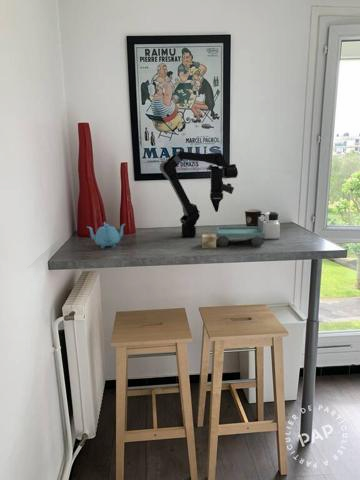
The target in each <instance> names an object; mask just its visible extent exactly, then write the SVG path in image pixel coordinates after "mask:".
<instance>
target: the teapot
mask: <svg viewBox="0 0 360 480" xmlns="http://www.w3.org/2000/svg"><path fill="white" fill-rule="evenodd" d="M125 225H126V223H122V224H121V225H120V229H119V230H120V231H118V230H117V229H116V228H115V227H114V226H112V225H110V224H109V223H107V222H106V221H104V222H103V226H100V227H99V228H98V229H97V231H96V232H95V234H94V230H93V228H92V227H91V226H87V228H88V230H89V232H90V238H91V239H92V240H93V241H94V242H95V244H97V245H98V246H100V249H105V248H106V247H108V246H109V247H110V246H111V248H116V247H117V246H116V245H117V244H119V243H120V241H121V238H122V237H123V236H124V227H125ZM104 247H105V248H104Z"/></svg>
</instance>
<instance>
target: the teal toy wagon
mask: <svg viewBox="0 0 360 480" xmlns="http://www.w3.org/2000/svg"><path fill="white" fill-rule="evenodd" d="M263 221H264V220H263V218H262V216H261V217H258V227H246V226H216V244H217V245H218V246H219V247H222V248H224V247H227V246H228V245H229V242H230V240H229V239H242V238H243V239H250V240H251V244H252V245H253V247H256V248H257V247H261V246H262V245H263V244H264V233H263Z"/></svg>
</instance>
